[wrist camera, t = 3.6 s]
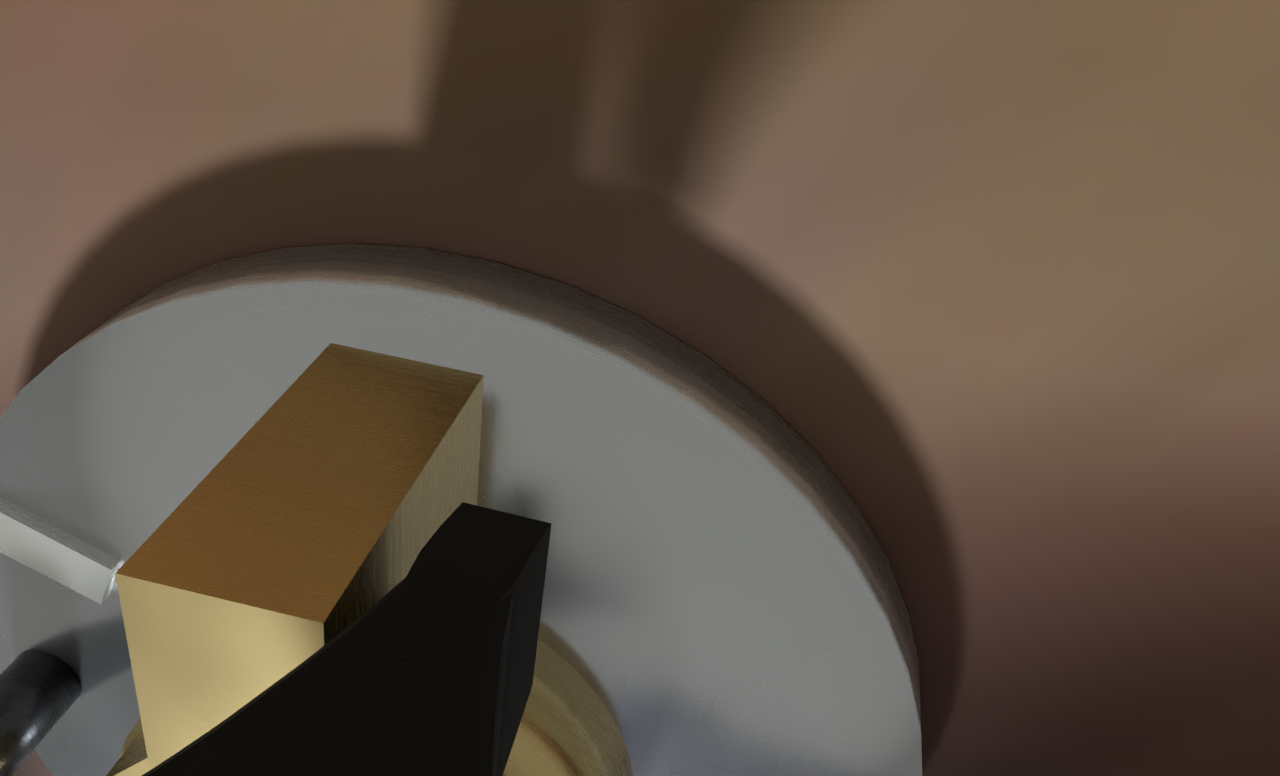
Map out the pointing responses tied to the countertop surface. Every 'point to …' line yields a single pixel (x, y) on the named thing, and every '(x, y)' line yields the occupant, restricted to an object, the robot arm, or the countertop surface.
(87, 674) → the cap plate
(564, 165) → the countertop surface
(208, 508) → the gold lugged disc
